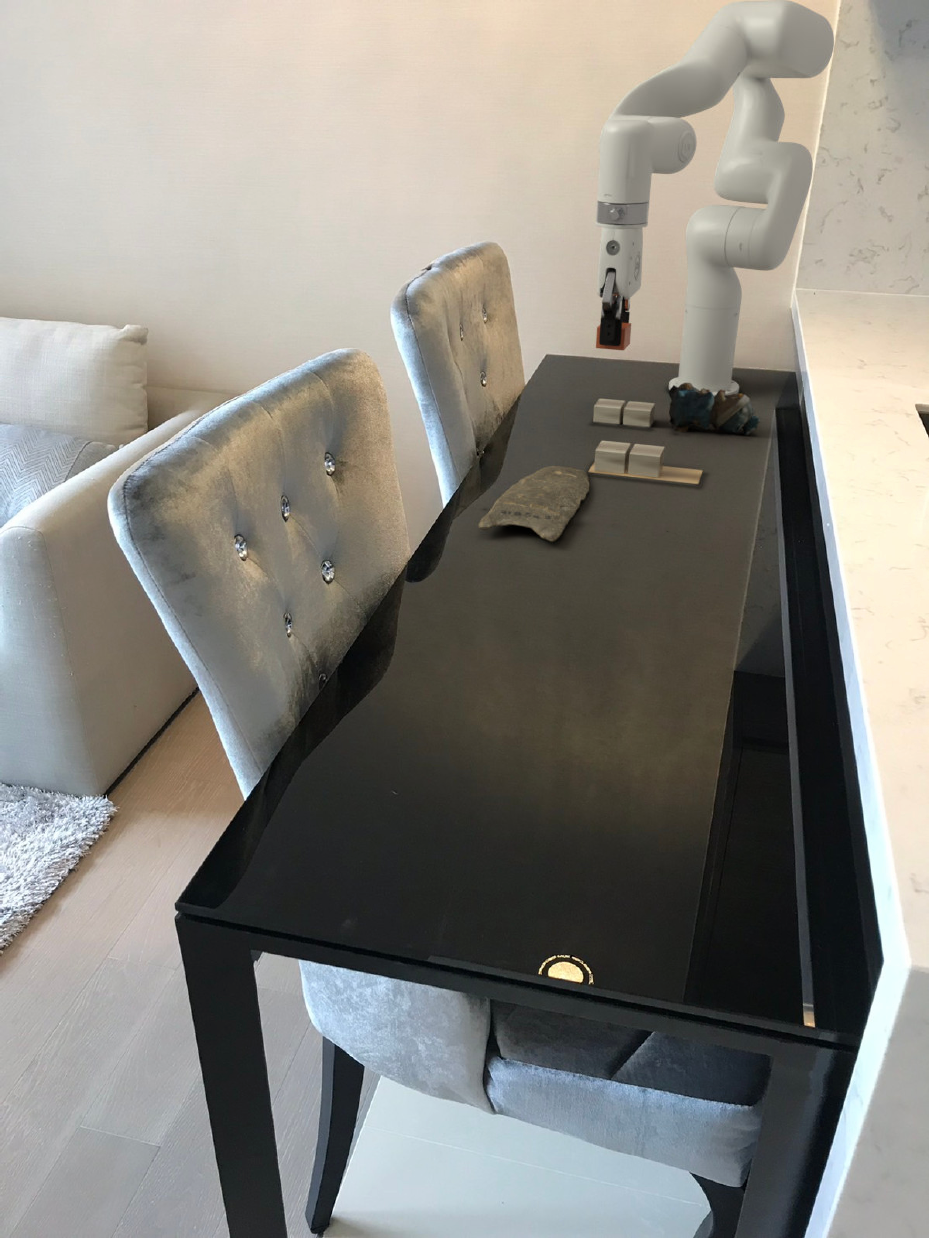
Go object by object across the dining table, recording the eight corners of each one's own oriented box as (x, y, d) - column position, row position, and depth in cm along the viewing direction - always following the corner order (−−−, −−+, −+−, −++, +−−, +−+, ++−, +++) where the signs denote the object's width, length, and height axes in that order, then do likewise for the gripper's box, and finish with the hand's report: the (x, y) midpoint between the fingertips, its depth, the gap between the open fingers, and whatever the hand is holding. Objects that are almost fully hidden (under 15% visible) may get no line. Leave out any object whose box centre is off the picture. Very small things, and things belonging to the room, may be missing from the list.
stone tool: (558, 550, 125) (601, 480, 146) (558, 529, 124) (602, 461, 144) (475, 539, 128) (529, 472, 149) (475, 518, 127) (529, 454, 147)
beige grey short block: (598, 416, 171) (599, 398, 169) (624, 419, 170) (625, 400, 168) (593, 424, 167) (594, 406, 166) (619, 427, 166) (620, 408, 164)
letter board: (595, 462, 152) (596, 458, 152) (702, 474, 147) (703, 470, 147) (587, 475, 147) (588, 471, 147) (697, 487, 143) (698, 483, 142)
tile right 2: (633, 464, 149) (634, 443, 148) (662, 467, 148) (664, 446, 147) (627, 474, 146) (629, 453, 144) (658, 477, 145) (660, 456, 143)
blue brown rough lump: (675, 382, 167) (767, 382, 161) (672, 433, 169) (763, 434, 163) (661, 382, 160) (756, 382, 153) (658, 434, 162) (753, 436, 155)
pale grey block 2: (627, 419, 169) (628, 401, 168) (653, 421, 168) (655, 403, 167) (622, 427, 166) (623, 408, 164) (649, 430, 165) (650, 411, 163)
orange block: (602, 341, 157) (603, 321, 156) (629, 344, 156) (631, 323, 154) (595, 348, 154) (596, 327, 152) (623, 350, 152) (625, 329, 151)
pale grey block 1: (600, 460, 151) (601, 440, 149) (629, 463, 150) (630, 443, 148) (594, 470, 147) (595, 450, 146) (623, 474, 146) (625, 453, 144)
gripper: (635, 223, 137) (625, 356, 146) (658, 209, 151) (648, 331, 160) (582, 221, 140) (576, 352, 149) (610, 207, 154) (602, 327, 162)
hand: (613, 340), depth 154 cm, fingers closed on orange block, 4 cm apart
